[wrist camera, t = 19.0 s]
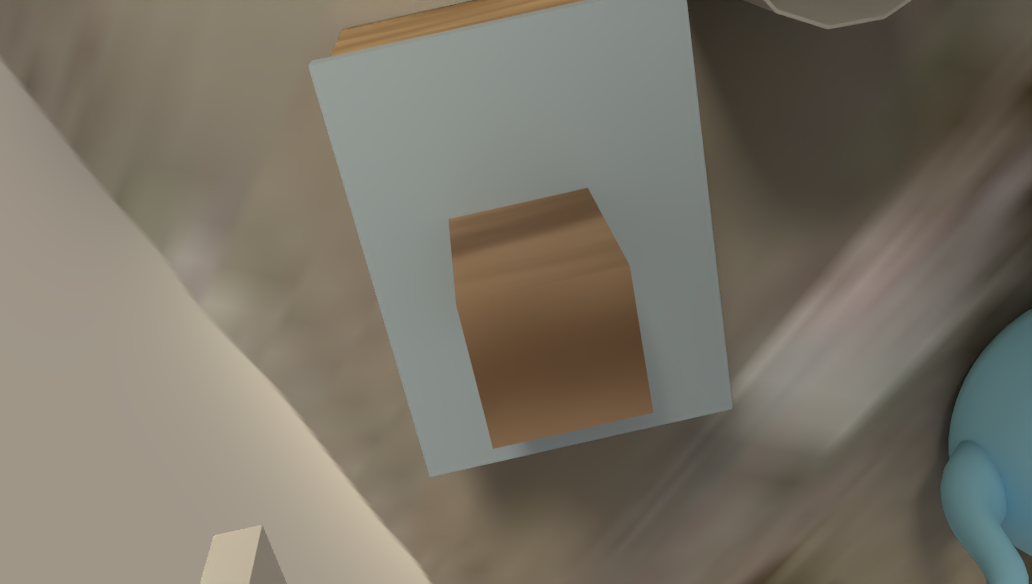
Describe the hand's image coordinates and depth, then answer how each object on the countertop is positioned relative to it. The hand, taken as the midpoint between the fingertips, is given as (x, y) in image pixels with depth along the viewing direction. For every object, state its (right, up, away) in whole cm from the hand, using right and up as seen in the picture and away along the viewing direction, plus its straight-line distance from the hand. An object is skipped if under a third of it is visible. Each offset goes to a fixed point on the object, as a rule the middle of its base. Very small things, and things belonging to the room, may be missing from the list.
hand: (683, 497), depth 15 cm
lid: (-2, +5, +19) cm, 20 cm away
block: (-2, +4, +18) cm, 19 cm away
